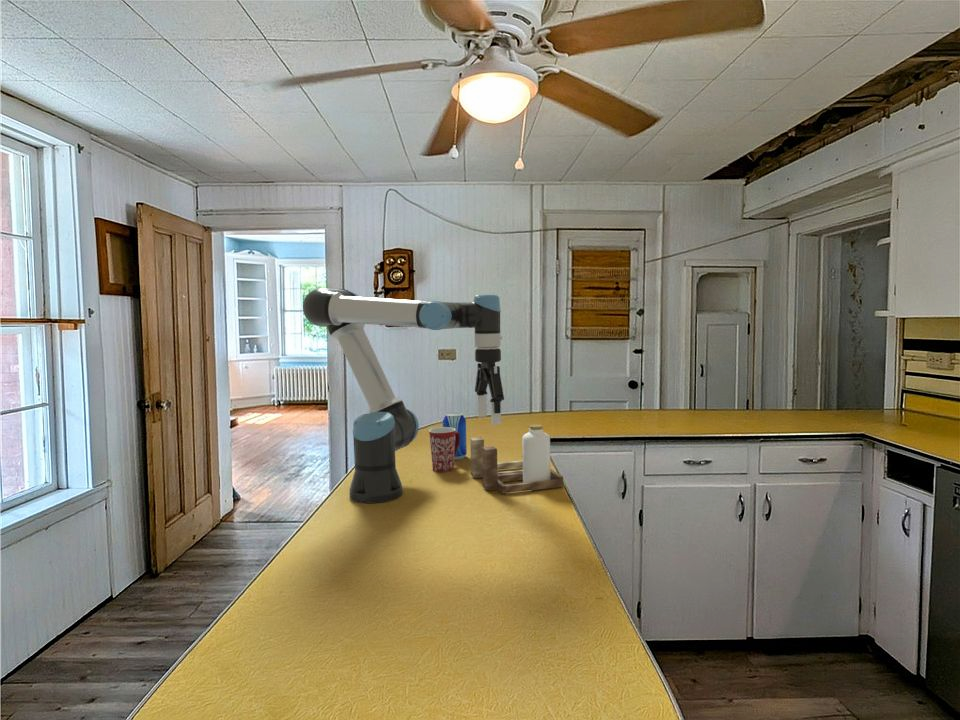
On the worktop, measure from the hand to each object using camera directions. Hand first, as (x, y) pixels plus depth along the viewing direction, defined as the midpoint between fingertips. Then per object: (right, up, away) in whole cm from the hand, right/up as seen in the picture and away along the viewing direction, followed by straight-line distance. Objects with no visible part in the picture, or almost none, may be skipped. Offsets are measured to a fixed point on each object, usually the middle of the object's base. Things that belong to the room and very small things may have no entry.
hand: (489, 420), depth 167 cm
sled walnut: (+9, -20, +4) cm, 22 cm away
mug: (-14, -19, +26) cm, 35 cm away
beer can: (-12, -18, +40) cm, 46 cm away
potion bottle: (+15, -20, +5) cm, 25 cm away
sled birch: (+6, -19, +17) cm, 26 cm away
